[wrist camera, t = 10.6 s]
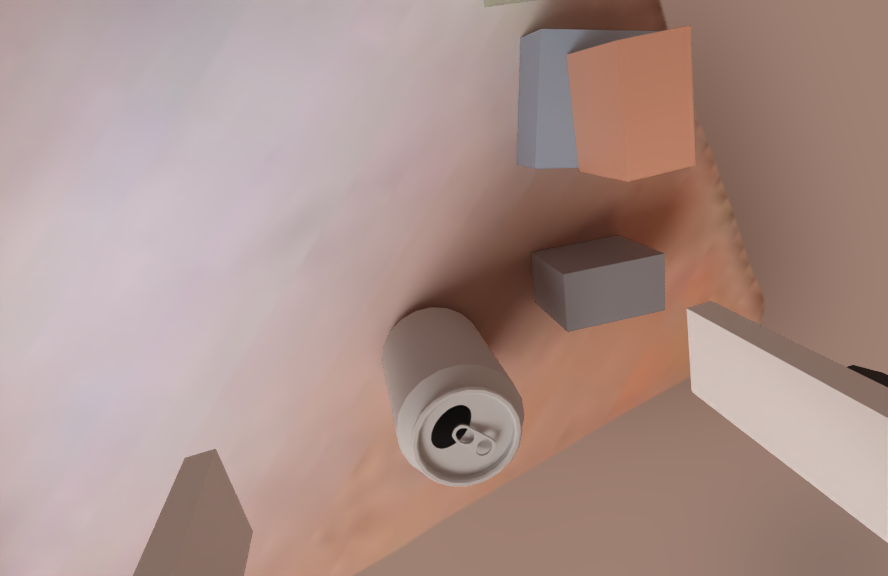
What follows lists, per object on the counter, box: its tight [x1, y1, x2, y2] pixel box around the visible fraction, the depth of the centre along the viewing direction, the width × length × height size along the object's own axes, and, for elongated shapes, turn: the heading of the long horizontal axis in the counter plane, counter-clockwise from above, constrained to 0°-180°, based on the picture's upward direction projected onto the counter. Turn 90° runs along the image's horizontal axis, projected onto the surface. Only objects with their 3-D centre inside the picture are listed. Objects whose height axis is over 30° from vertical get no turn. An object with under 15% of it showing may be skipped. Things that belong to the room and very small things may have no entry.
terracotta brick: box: [567, 26, 695, 182], centre depth 30 cm, size 7×4×6 cm, turn 11°
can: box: [382, 307, 524, 486], centre depth 34 cm, size 8×8×12 cm
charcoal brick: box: [531, 235, 665, 332], centre depth 37 cm, size 7×4×6 cm, turn 98°
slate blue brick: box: [517, 29, 660, 169], centre depth 34 cm, size 8×8×4 cm
